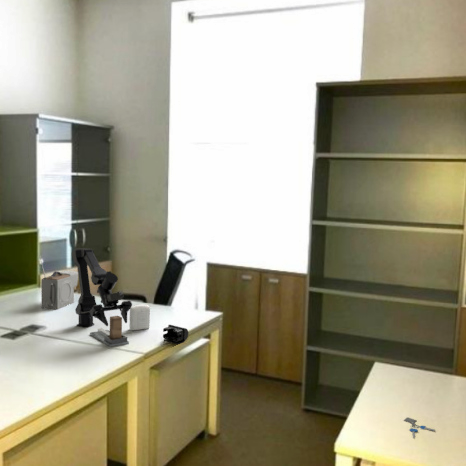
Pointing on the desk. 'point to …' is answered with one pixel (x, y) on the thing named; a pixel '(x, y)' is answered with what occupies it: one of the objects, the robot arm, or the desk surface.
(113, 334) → the brown tall block
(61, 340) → the desk surface
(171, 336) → the end cap
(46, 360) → the desk surface
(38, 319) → the desk surface
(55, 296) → the portable television
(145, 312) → the photo printer
